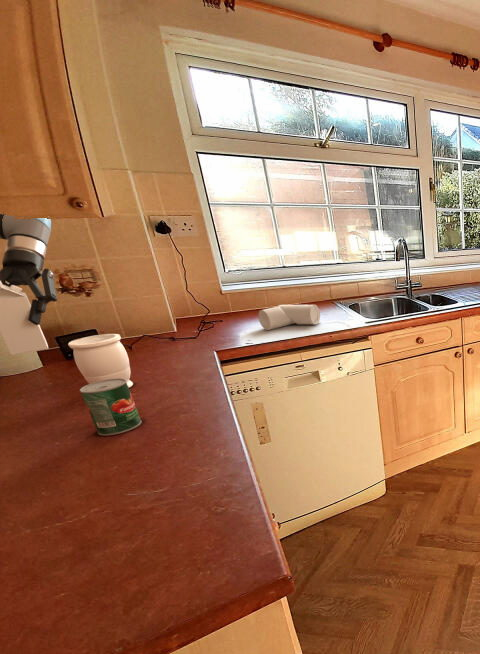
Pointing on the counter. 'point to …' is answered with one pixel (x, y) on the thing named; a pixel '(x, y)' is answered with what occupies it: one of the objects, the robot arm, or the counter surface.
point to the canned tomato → (111, 406)
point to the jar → (101, 358)
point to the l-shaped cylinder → (288, 315)
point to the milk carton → (18, 322)
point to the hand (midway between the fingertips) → (9, 324)
